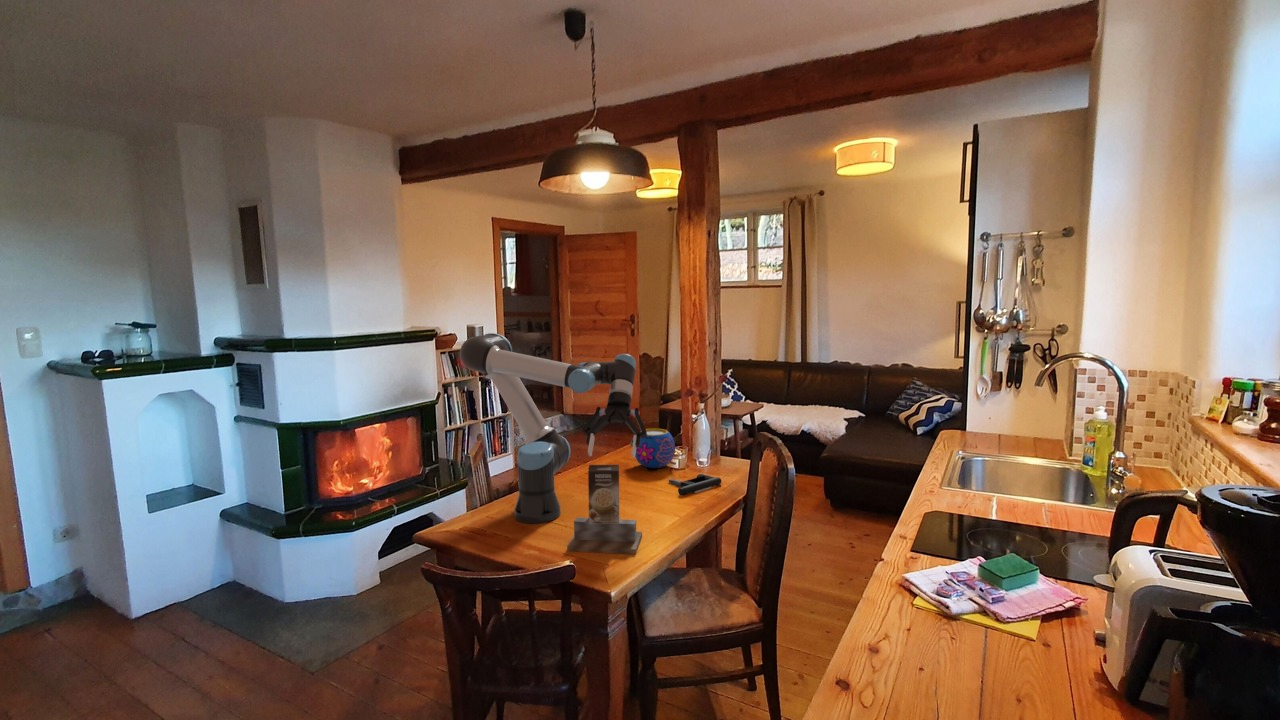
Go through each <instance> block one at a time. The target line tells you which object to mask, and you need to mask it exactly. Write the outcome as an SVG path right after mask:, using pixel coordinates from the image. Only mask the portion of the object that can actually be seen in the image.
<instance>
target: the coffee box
mask: <svg viewBox="0 0 1280 720" xmlns="http://www.w3.org/2000/svg"><path fill="white" fill-rule="evenodd" d="M587 472H588V473H587V476H588V478H587V479H588V483H587V484H588V487H587V488H588V518H589V524H619V519H620V465H619V464H588V471H587Z"/></svg>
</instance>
